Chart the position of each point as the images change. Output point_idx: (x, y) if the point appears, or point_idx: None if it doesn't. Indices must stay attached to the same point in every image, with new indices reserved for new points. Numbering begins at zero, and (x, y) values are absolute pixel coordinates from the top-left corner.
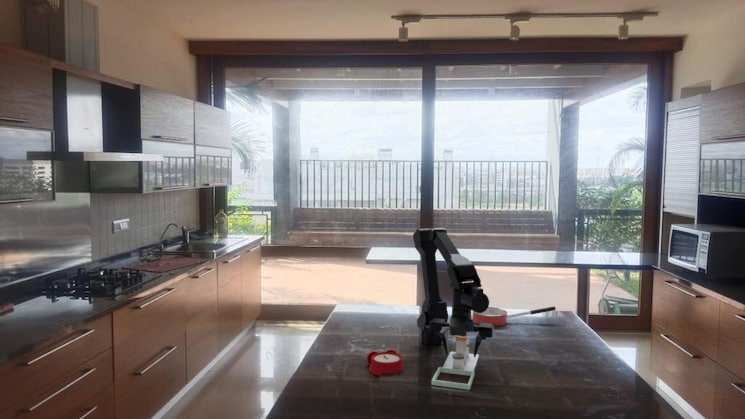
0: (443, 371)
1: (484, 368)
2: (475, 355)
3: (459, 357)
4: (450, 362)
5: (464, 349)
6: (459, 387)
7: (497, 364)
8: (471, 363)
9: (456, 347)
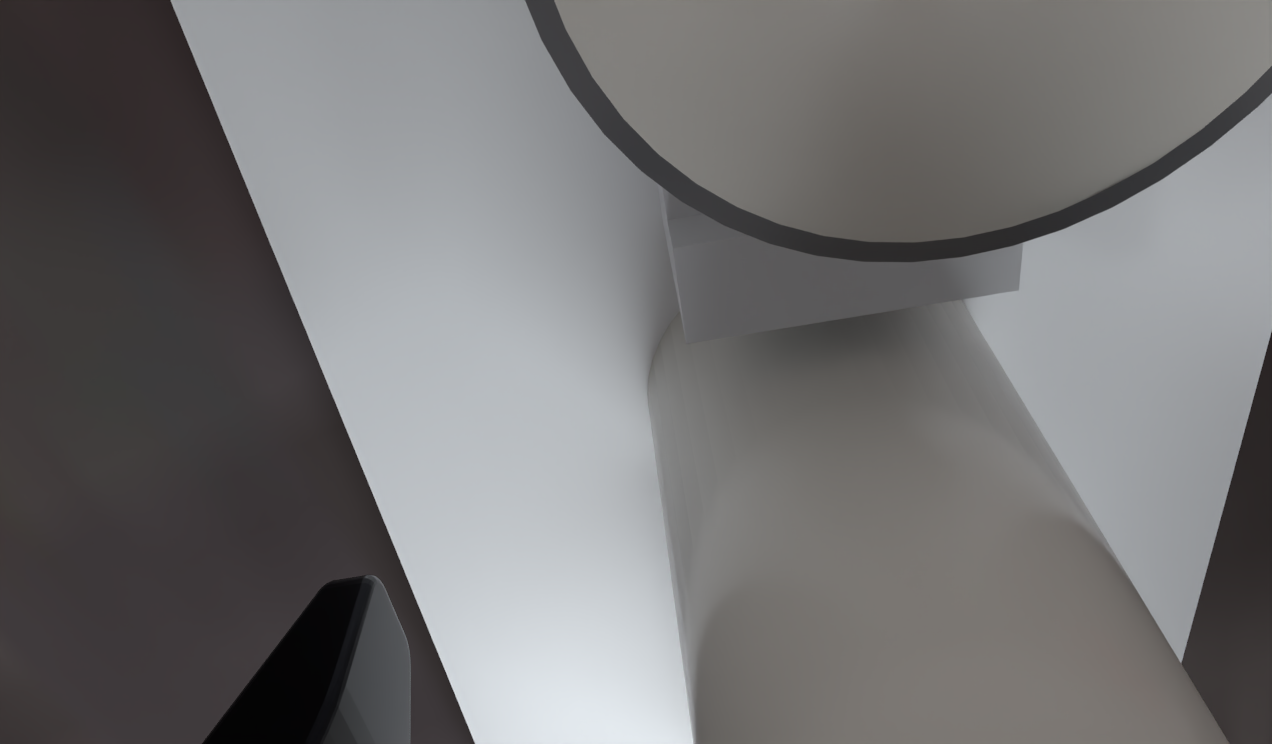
0: None
1: (139, 422)
2: (289, 637)
3: None
4: (1131, 228)
5: (762, 731)
6: None
7: (35, 720)
8: (490, 432)
9: (1210, 726)
